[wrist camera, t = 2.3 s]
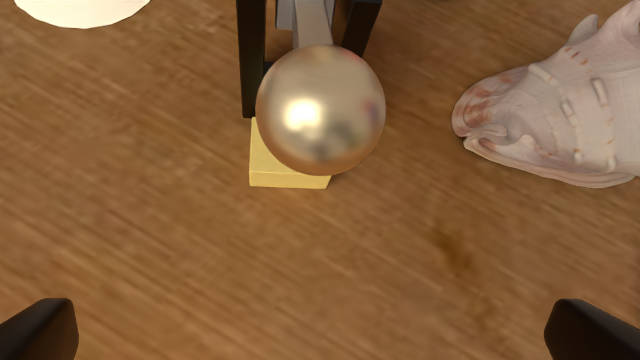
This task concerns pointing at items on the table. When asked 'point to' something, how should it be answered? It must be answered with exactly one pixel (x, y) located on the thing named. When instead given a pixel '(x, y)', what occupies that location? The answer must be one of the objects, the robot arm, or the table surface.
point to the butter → (276, 168)
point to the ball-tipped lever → (318, 96)
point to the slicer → (347, 32)
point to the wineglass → (81, 11)
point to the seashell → (565, 108)
